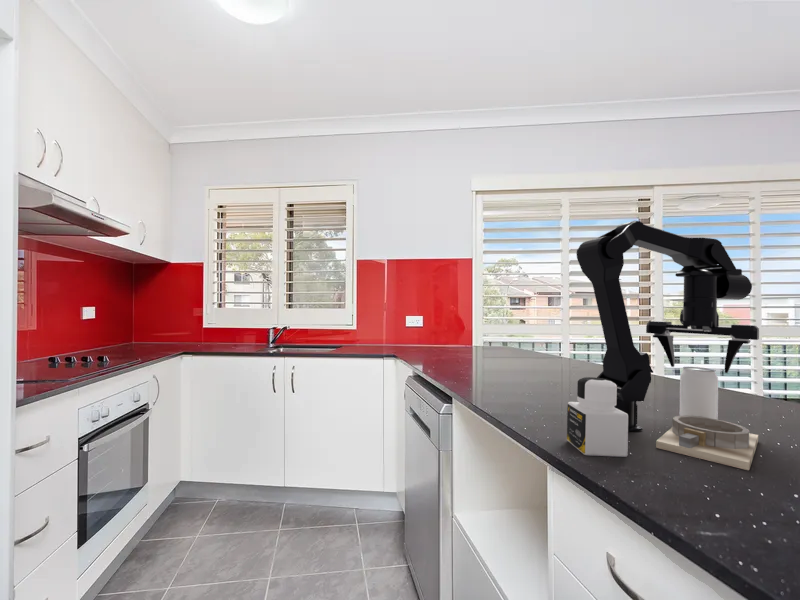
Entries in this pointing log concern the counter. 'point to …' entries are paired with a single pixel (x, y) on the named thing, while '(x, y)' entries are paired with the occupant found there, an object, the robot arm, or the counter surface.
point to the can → (699, 392)
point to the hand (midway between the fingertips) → (698, 369)
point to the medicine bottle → (597, 419)
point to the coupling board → (710, 440)
